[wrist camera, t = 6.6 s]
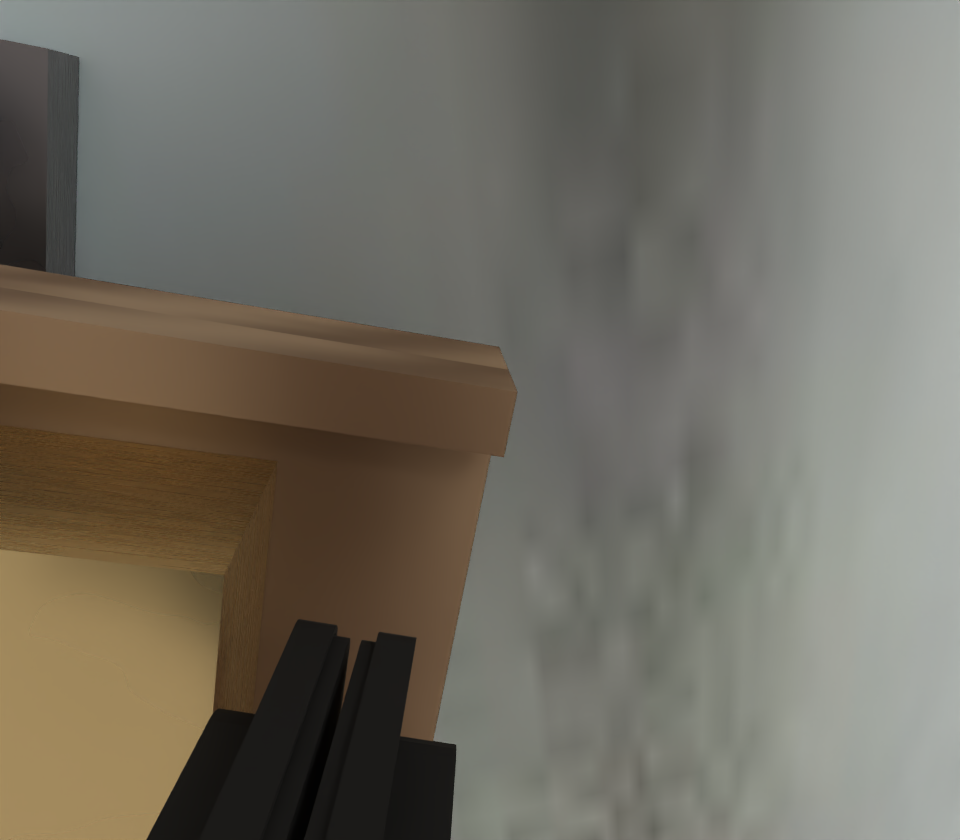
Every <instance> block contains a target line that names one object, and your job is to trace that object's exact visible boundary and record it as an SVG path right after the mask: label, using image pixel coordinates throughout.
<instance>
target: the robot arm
mask: <svg viewBox="0 0 960 840" xmlns="http://www.w3.org/2000/svg"><path fill="white" fill-rule="evenodd" d="M337 632H338V627H337V625H334V624H328V623H321V622H315V621H309V620H302V619H298V620H297V622H296V623H295V626H294V628H293V630H292V632H291V635H290V637H289V639H288V641H287V644H286V646H285V648H284V650H283V653H282V655H281V657H280V659H279V662H278V664H277V666H276V668H275V671H274V673H273V675H272V677H271V680H270V682H269V684H268V686H267V689H266V691H265V693H264V695H263V698H262V700H261V702H260V704H259V707H258V709H257V711H256V713H255V714H252V713H246V712H239V711H233V710H226V709H220V708H218V709H217V710H216V711H214V713H213V714H212V716H211V718H210V719H209V721H208V723H207V725H206V726H205V728H204V730H203V732H202V734H201V736H200V738H199V740H198V742H197V744H196V746H195V747H194V749H193V751H192V753H191V755H190V757H189V759H188V761H187V763H186V765H185V767H184V768H183V770H182V772H181V774H180V776H179V778H178V780H177V782H176V784H175V786H174V788H173V789H172V791H171V793H170V795H169V797H168V799H167V801H166V803H165V805H164V807H163V809H162V810H161V812H160V814H159V816H158V818H157V820H156V822H155V824H154V826H153V828H152V830H151V831H150V833H149V835H148V837H147V839H146V840H450V838H451V824H452V809H453V794H454V779H455V765H456V745H455V744H448V743H442V742H435V741H429V740H422V739H416V738H409V737H402V736H400V734H401V729H402V723H403V717H404V711H405V705H406V699H407V693H408V687H409V681H410V675H411V669H412V663H413V657H414V651H415V645H416V639H417V637H410V636H404V635H398V634H391V633H385V632H379V633H378V636H377V640H376V642H373V641H367V640H361V643H360V646H359V650H358V653H357V657H356V660H355V664H354V667H353V671H352V674H351V678H350V681H349V685H348V688H347V692H346V695H345V699H344V702H343V706H342V700H343V693H344V686H345V678H346V671H347V664H348V656H349V649H350V638H347V637H341V636H337ZM341 708H342V709H341Z"/></svg>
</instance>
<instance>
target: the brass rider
mask: <svg viewBox="0 0 960 840" xmlns="http://www.w3.org/2000/svg"><path fill="white" fill-rule="evenodd" d="M276 471H277V461H270V460H263V459H255V458H248V457H240V456H233V455H225V454H218V453H210V452H203V451H195V450H187V449H180V448H172V447H165V446H157V445H150V444H142V443H135V442H127V441H120V440H112V439H105V438H97V437H89V436H82V435H74V434H67V433H59V432H52V431H44V430H37V429H29V428H22V427H14V426H6V425H0V840H146V839H147V837H148V835H149V833H150V831H151V830H152V828H153V826H154V824H155V822H156V820H157V818H158V816H159V814H160V812H161V810H162V809H163V807H164V805H165V803H166V801H167V799H168V797H169V795H170V793H171V791H172V789H173V788H174V786H175V784H176V782H177V780H178V778H179V776H180V774H181V772H182V770H183V768H184V767H185V765H186V763H187V761H188V759H189V757H190V755H191V753H192V751H193V749H194V747H195V746H196V744H197V742H198V740H199V738H200V736H201V734H202V732H203V730H204V728H205V726H206V725H207V723H208V721H209V719H210V718H211V716H212V714H213V713H214V711H216V710H217V709H218V708H220V709H226V710H233V711H239V712H246V713H252V710H253V700H254V690H255V680H256V670H257V660H258V650H259V640H260V630H261V620H262V610H263V600H264V590H265V580H266V570H267V561H268V551H269V541H270V531H271V521H272V511H273V501H274V491H275V481H276Z"/></svg>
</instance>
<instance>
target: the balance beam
mask: <svg viewBox="0 0 960 840" xmlns="http://www.w3.org/2000/svg"><path fill="white" fill-rule="evenodd" d="M516 396H517V390H516V387H515V385H514V382H513V380H512V377H511V375H510V373H509V370H508V368H507V365H506V363H505V360H504V358H503V355H502V353H501V351H500V348H499V347H496V346H490V345H484V344H478V343H472V342H466V341H460V340H454V339H448V338H442V337H436V336H430V335H424V334H418V333H412V332H406V331H400V330H394V329H387V328H381V327H375V326H369V325H363V324H357V323H351V322H345V321H339V320H333V319H327V318H321V317H315V316H309V315H303V314H297V313H291V312H285V311H279V310H273V309H267V308H261V307H255V306H249V305H242V304H236V303H230V302H224V301H218V300H212V299H206V298H200V297H194V296H188V295H182V294H176V293H170V292H164V291H158V290H152V289H146V288H140V287H134V286H128V285H122V284H116V283H110V282H104V281H97V280H91V279H85V278H79V277H73V276H67V275H61V274H55V273H49V272H43V271H37V270H31V269H25V268H19V267H13V266H7V265H1V264H0V425H6V426H14V427H22V428H29V429H37V430H44V431H52V432H59V433H67V434H74V435H82V436H89V437H97V438H105V439H112V440H120V441H127V442H135V443H142V444H150V445H157V446H165V447H172V448H180V449H187V450H195V451H203V452H210V453H218V454H225V455H233V456H240V457H248V458H255V459H263V460H270V461H277V471H276V481H275V491H274V501H273V511H272V521H271V531H270V541H269V551H268V561H267V570H266V580H265V590H264V600H263V610H262V620H261V630H260V640H259V650H258V660H257V670H256V680H255V690H254V700H253V710H252V714H255V713H256V711H257V709H258V707H259V704H260V702H261V700H262V698H263V695H264V693H265V691H266V689H267V686H268V684H269V682H270V680H271V677H272V675H273V673H274V671H275V668H276V666H277V664H278V662H279V659H280V657H281V655H282V653H283V650H284V648H285V646H286V644H287V641H288V639H289V637H290V635H291V632H292V630H293V628H294V626H295V623H296V622H297V620H298V619H302V620H309V621H315V622H321V623H328V624H334V625H337V627H338V632H337V636H341V637H347V638H350V649H349V656H348V664H347V671H346V678H345V686H344V693H343V700H342V706H343V702H344V699H345V695H346V692H347V688H348V685H349V681H350V678H351V674H352V671H353V667H354V664H355V660H356V657H357V653H358V650H359V646H360V643H361V640H367V641H373V642H376V640H377V636H378V633H379V632H385V633H391V634H398V635H404V636H410V637H417V639H416V645H415V651H414V657H413V663H412V669H411V675H410V681H409V687H408V693H407V699H406V705H405V711H404V717H403V723H402V729H401V734H400V736H402V737H409V738H416V739H422V740H429V741H433V738H434V733H435V728H436V723H437V718H438V713H439V709H440V704H441V699H442V694H443V689H444V684H445V679H446V674H447V669H448V664H449V659H450V654H451V649H452V644H453V640H454V635H455V630H456V625H457V620H458V615H459V610H460V605H461V600H462V595H463V590H464V585H465V580H466V575H467V571H468V566H469V561H470V556H471V551H472V546H473V541H474V536H475V531H476V526H477V521H478V516H479V511H480V506H481V502H482V497H483V492H484V487H485V482H486V477H487V472H488V467H489V462H490V457H491V455H493V456H499V457H504V454H505V449H506V444H507V440H508V435H509V430H510V425H511V420H512V416H513V411H514V406H515V401H516ZM341 709H342V708H341Z"/></svg>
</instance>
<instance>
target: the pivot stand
mask: <svg viewBox="0 0 960 840" xmlns="http://www.w3.org/2000/svg"><path fill="white" fill-rule="evenodd" d="M78 75H79V57H76V56H73V55H69V54H65V53H61V52H58V51H54V50H50V49H46V48H41V47H36V46H31V45H26V44H21V43H16V42H11V41H6V40H1V39H0V264H1V265H7V266H13V267H19V268H25V269H31V270H37V271H43V272H49V273H55V274H61V275H67V276H73V277H74V270H75V221H76V173H77V124H78Z"/></svg>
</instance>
